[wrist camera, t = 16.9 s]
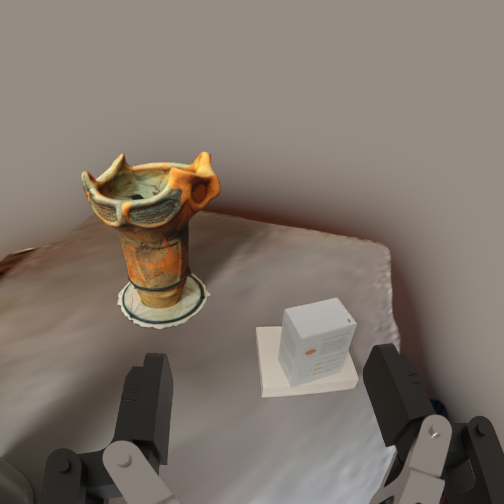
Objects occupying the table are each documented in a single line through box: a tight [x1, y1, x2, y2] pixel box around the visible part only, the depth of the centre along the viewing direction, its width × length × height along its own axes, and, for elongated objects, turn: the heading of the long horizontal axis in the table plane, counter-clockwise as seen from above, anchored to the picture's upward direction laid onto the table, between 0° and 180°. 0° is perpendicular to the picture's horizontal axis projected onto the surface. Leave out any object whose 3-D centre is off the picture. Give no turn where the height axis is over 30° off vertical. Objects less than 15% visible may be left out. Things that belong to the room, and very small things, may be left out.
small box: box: [278, 297, 357, 387], centre depth 41 cm, size 8×6×10 cm
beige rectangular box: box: [255, 326, 359, 397], centre depth 47 cm, size 14×12×2 cm
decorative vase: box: [81, 152, 220, 329], centre depth 53 cm, size 21×23×28 cm
